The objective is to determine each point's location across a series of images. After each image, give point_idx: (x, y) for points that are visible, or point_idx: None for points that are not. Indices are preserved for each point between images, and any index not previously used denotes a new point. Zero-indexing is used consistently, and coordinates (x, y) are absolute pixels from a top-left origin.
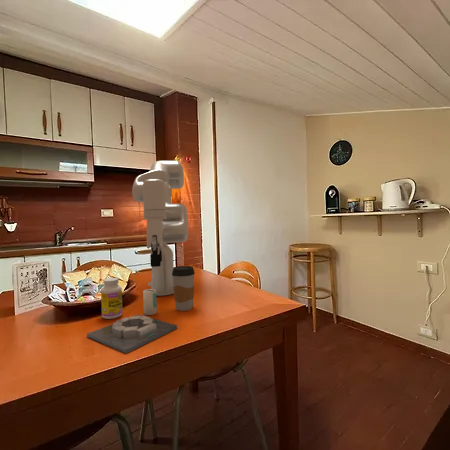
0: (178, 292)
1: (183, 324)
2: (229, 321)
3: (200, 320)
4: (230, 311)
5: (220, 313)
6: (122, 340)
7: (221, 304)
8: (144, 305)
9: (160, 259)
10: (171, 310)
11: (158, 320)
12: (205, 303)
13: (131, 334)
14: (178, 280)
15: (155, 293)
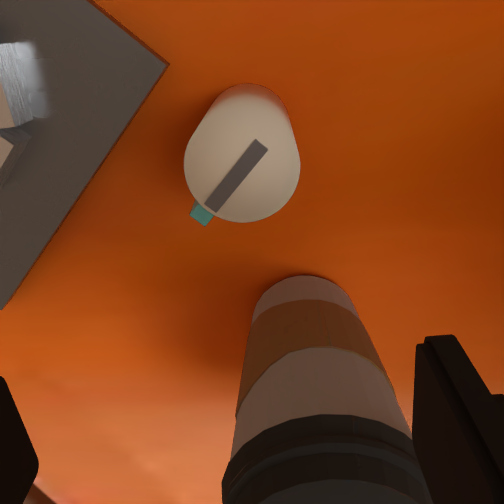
0: (247, 362)
1: (62, 324)
2: (102, 480)
3: (113, 388)
4: (219, 492)
5: (198, 459)
6: None
7: None
8: (212, 105)
9: (421, 457)
10: (275, 250)
11: (61, 214)
12: None
13: None
14: (238, 433)
15: (198, 220)
